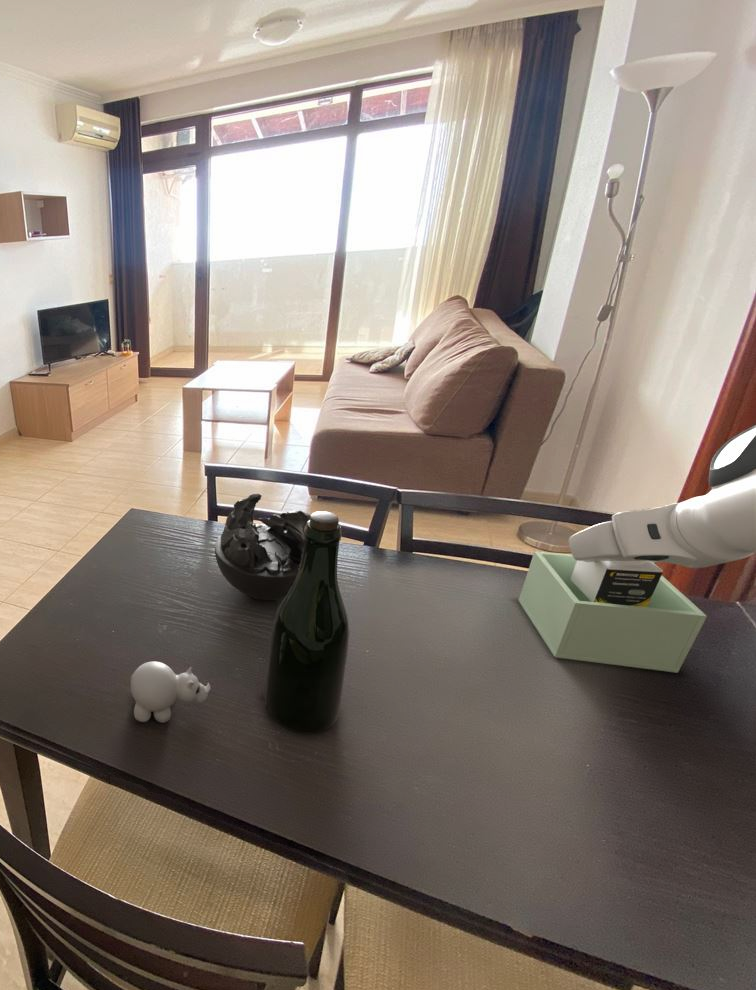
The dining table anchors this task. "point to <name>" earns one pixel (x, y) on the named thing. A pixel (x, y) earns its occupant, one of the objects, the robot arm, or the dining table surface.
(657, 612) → the open storage box
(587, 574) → the medicine bottle
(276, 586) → the coal bowl
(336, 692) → the beer bottle
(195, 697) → the chubby cartoon animal
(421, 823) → the dining table surface
